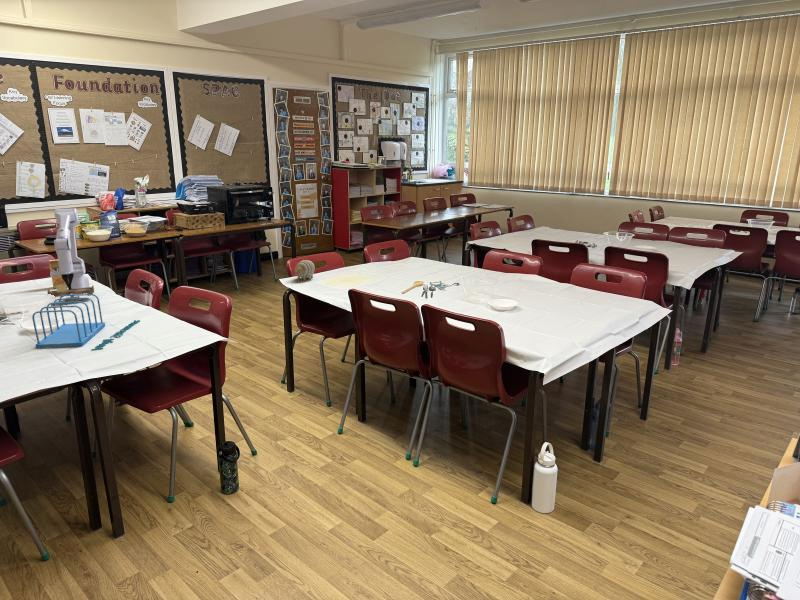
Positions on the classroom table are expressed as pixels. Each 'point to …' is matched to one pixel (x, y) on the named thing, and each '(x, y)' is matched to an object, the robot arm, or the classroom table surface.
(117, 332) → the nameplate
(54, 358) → the classroom table surface
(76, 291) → the beam
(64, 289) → the brass weight
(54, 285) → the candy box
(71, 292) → the pivot stand
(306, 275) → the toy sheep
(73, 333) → the file sorter
